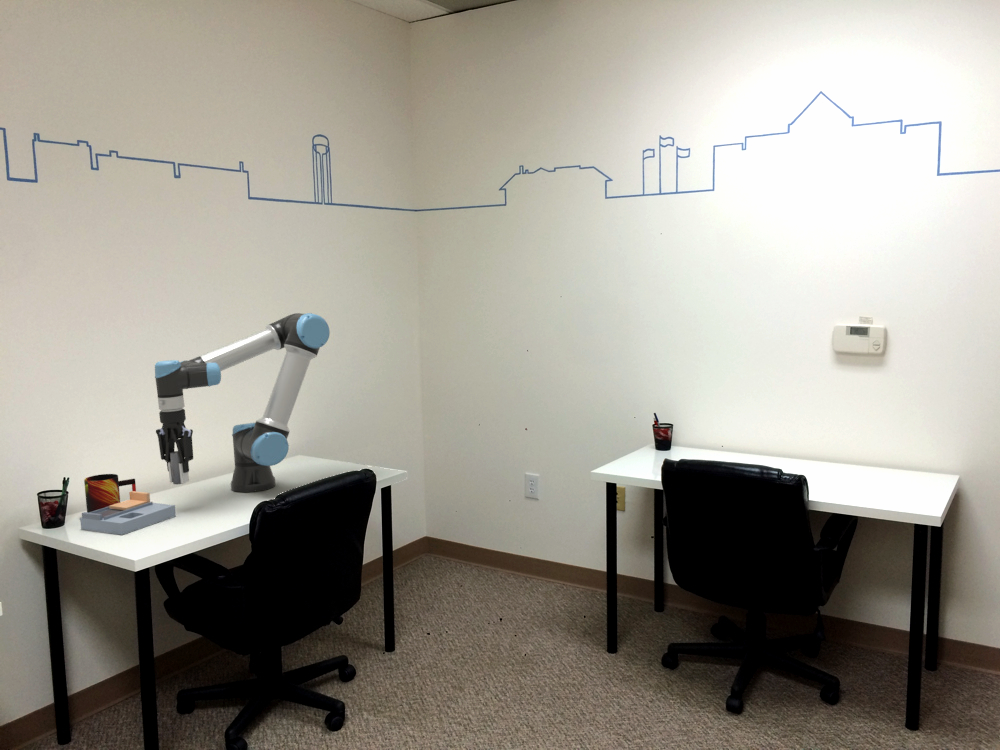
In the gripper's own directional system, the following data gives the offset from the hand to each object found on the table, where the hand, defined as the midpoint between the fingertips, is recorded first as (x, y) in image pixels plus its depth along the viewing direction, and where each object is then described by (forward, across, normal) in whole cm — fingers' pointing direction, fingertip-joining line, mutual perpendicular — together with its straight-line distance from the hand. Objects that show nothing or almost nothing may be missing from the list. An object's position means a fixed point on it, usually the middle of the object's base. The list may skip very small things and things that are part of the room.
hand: (179, 481), depth 254 cm
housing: (+9, -5, -16) cm, 19 cm away
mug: (+9, -21, -10) cm, 25 cm away
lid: (+5, -9, -12) cm, 16 cm away
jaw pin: (0, 0, 0) cm, 0 cm away
